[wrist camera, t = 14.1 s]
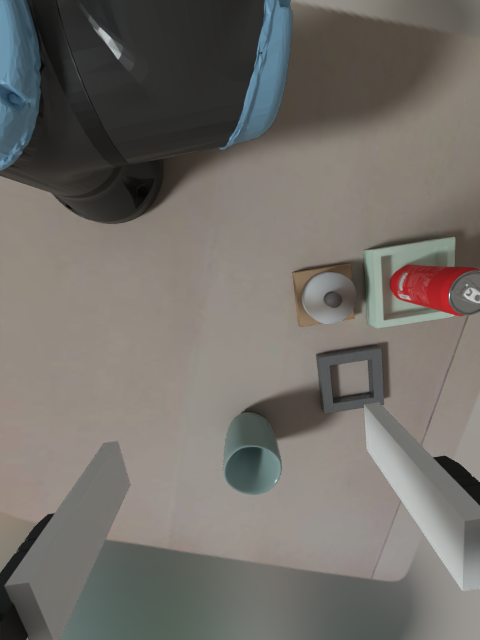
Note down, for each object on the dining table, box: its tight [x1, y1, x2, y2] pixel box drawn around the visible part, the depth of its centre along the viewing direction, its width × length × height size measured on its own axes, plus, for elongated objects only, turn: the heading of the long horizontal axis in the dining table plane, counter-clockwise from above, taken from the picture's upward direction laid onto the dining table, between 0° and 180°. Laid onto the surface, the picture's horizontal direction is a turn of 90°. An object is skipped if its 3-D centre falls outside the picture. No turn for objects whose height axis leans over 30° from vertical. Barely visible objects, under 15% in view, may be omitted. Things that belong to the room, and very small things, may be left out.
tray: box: [363, 237, 455, 328], centre depth 41 cm, size 11×11×3 cm
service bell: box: [292, 264, 357, 327], centre depth 40 cm, size 8×8×6 cm
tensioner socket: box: [316, 345, 384, 414], centre depth 45 cm, size 10×10×2 cm
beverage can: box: [390, 265, 480, 316], centre depth 35 cm, size 5×5×12 cm
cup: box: [223, 412, 282, 495], centre depth 42 cm, size 8×8×10 cm
